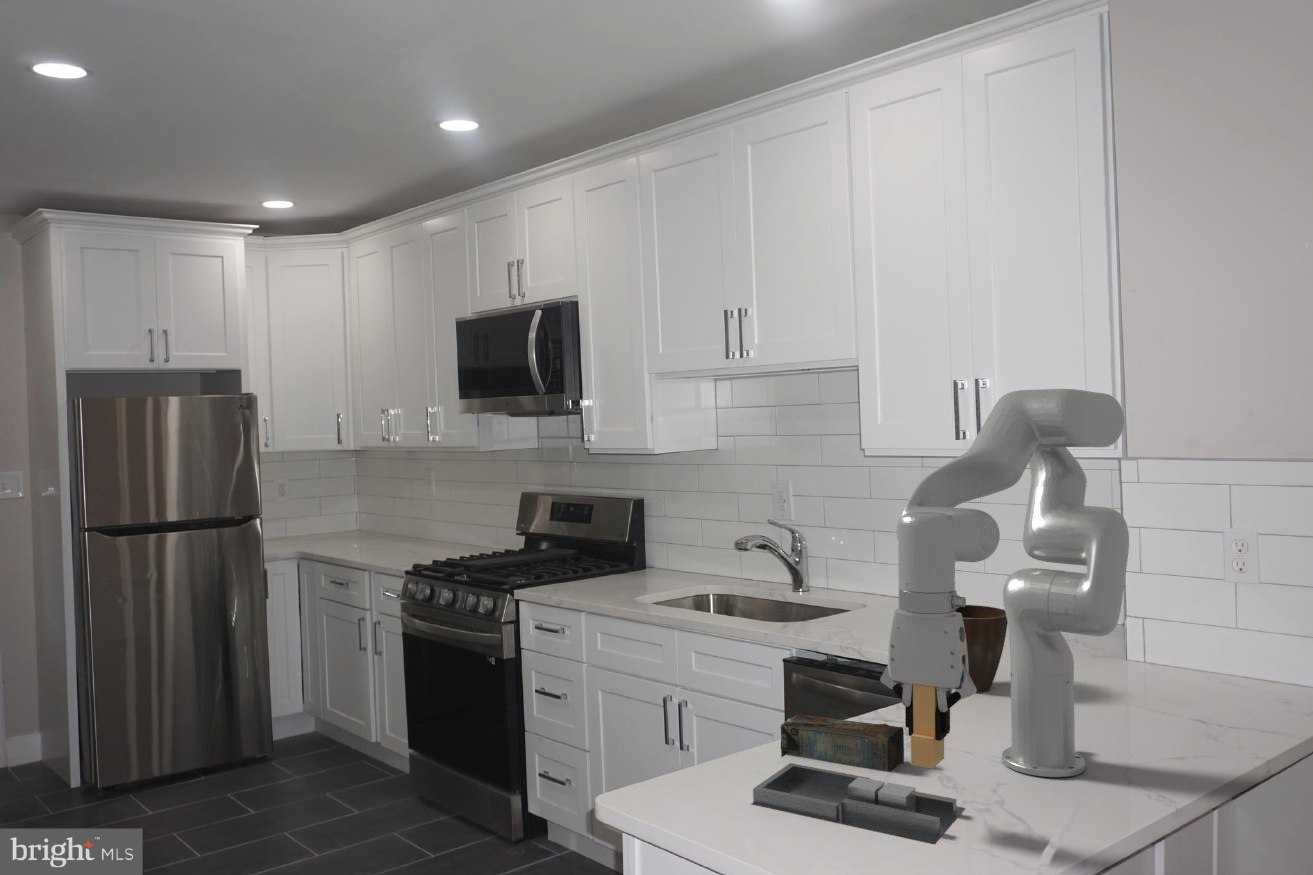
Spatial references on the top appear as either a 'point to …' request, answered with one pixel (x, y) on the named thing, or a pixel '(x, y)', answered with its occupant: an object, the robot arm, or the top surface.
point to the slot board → (852, 804)
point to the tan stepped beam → (925, 728)
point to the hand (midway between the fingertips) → (927, 734)
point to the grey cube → (898, 797)
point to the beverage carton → (843, 742)
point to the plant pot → (983, 642)
